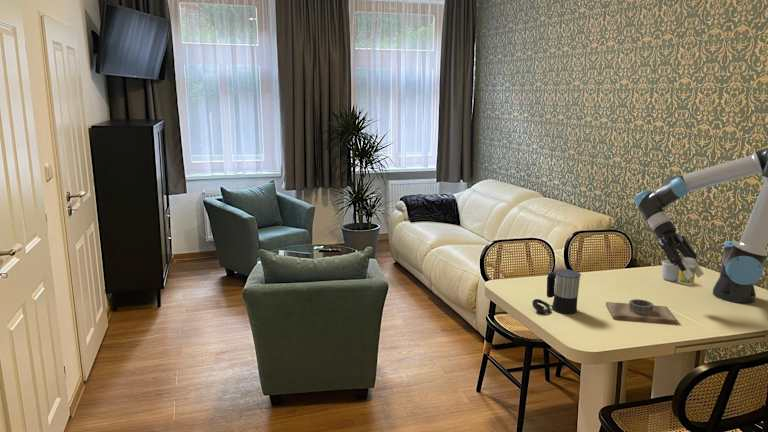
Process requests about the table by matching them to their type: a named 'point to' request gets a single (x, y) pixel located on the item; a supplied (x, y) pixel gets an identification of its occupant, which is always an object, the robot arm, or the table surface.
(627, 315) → the collar board
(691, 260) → the supplement bottle
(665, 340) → the table surface
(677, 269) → the cup
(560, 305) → the milk frother
